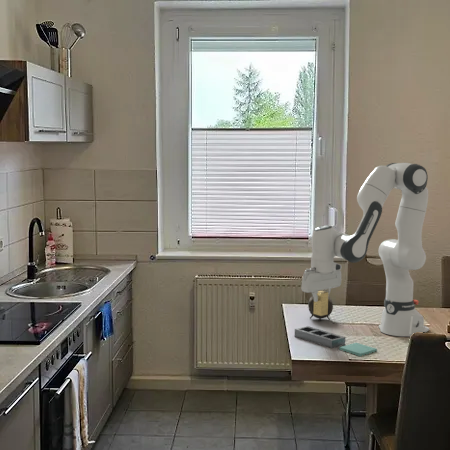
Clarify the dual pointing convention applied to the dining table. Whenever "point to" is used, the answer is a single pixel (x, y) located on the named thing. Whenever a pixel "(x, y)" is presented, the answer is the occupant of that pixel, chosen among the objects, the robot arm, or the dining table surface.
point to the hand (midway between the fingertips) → (321, 300)
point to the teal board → (358, 349)
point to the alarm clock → (311, 308)
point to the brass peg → (321, 304)
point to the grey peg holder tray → (320, 337)
